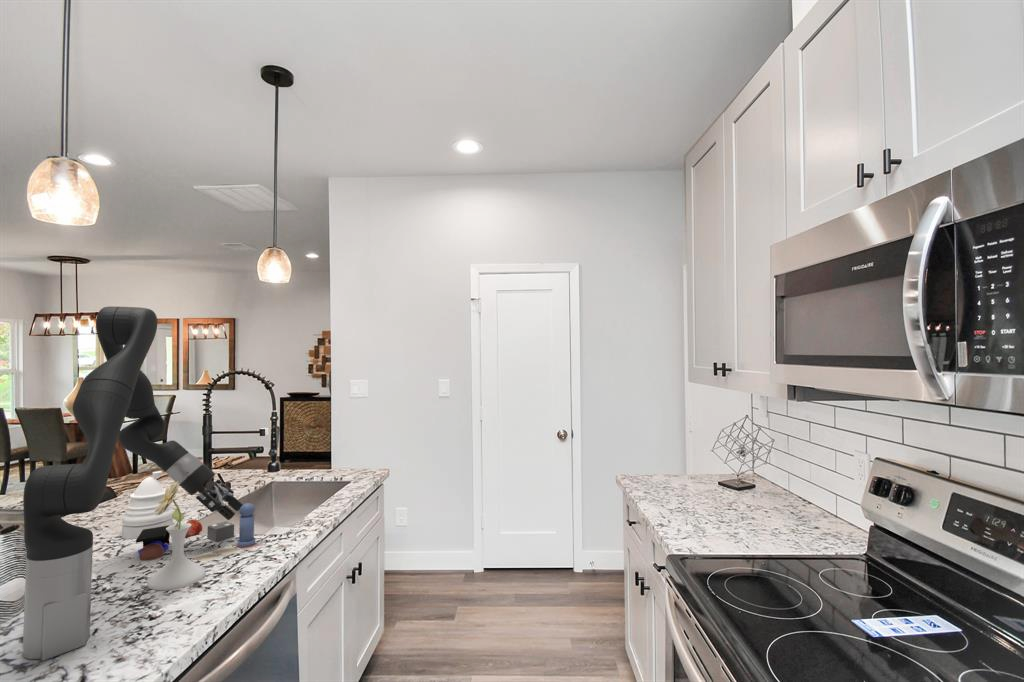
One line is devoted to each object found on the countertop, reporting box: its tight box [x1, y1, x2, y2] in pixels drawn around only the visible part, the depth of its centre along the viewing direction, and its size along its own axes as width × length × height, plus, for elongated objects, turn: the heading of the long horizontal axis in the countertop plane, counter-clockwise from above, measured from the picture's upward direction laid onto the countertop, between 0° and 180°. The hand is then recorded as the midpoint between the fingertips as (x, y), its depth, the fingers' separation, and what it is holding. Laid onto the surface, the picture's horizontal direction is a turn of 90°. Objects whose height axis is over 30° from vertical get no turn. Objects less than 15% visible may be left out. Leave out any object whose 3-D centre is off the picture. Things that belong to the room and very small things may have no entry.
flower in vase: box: [147, 481, 207, 592], centre depth 116 cm, size 13×11×25 cm
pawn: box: [236, 502, 256, 549], centre depth 138 cm, size 4×4×12 cm
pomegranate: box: [185, 519, 203, 539], centre depth 148 cm, size 6×6×8 cm
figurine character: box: [135, 525, 171, 562], centre depth 134 cm, size 7×8×15 cm
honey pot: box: [121, 470, 174, 540], centre depth 154 cm, size 13×13×18 cm
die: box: [206, 520, 235, 543], centre depth 144 cm, size 5×5×5 cm
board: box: [191, 541, 261, 564], centre depth 134 cm, size 8×16×2 cm, turn 146°
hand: (236, 512), depth 138 cm, fingers open, 8 cm apart
